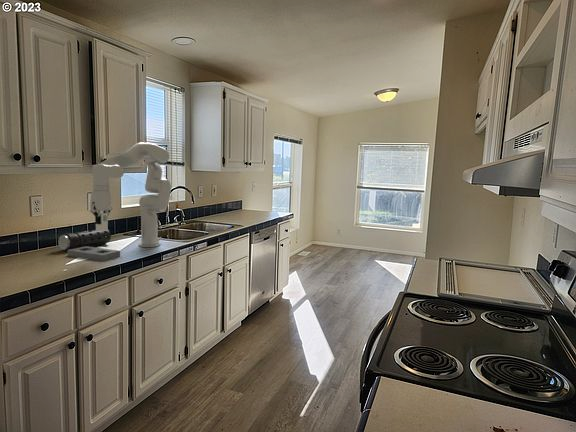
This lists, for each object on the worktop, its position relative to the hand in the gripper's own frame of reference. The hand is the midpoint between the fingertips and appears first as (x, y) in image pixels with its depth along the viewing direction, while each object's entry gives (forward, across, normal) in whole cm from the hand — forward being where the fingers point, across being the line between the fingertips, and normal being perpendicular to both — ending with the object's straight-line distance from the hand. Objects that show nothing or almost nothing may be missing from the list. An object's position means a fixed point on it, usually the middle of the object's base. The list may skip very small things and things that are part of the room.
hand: (101, 223), depth 202 cm
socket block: (+19, 0, -6) cm, 20 cm away
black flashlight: (+19, -14, -27) cm, 36 cm away
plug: (+4, 0, 0) cm, 4 cm away
